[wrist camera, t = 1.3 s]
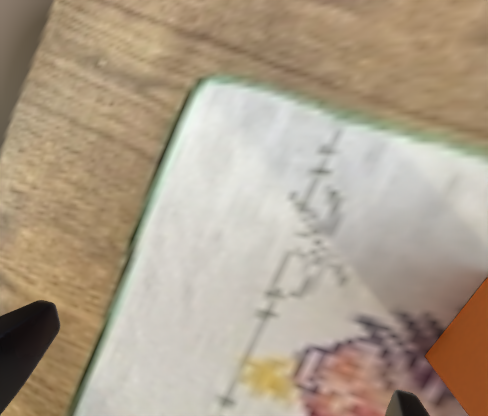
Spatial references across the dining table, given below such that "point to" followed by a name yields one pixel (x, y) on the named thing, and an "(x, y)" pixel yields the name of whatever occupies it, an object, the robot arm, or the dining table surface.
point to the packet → (466, 354)
